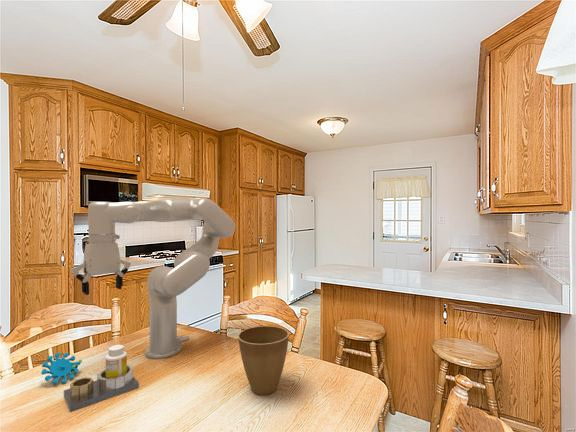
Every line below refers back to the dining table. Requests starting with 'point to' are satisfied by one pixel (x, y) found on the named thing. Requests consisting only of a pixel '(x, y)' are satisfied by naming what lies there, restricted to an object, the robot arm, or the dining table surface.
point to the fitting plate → (98, 389)
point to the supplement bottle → (116, 362)
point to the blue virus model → (60, 368)
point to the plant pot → (263, 356)
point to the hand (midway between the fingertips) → (103, 291)
